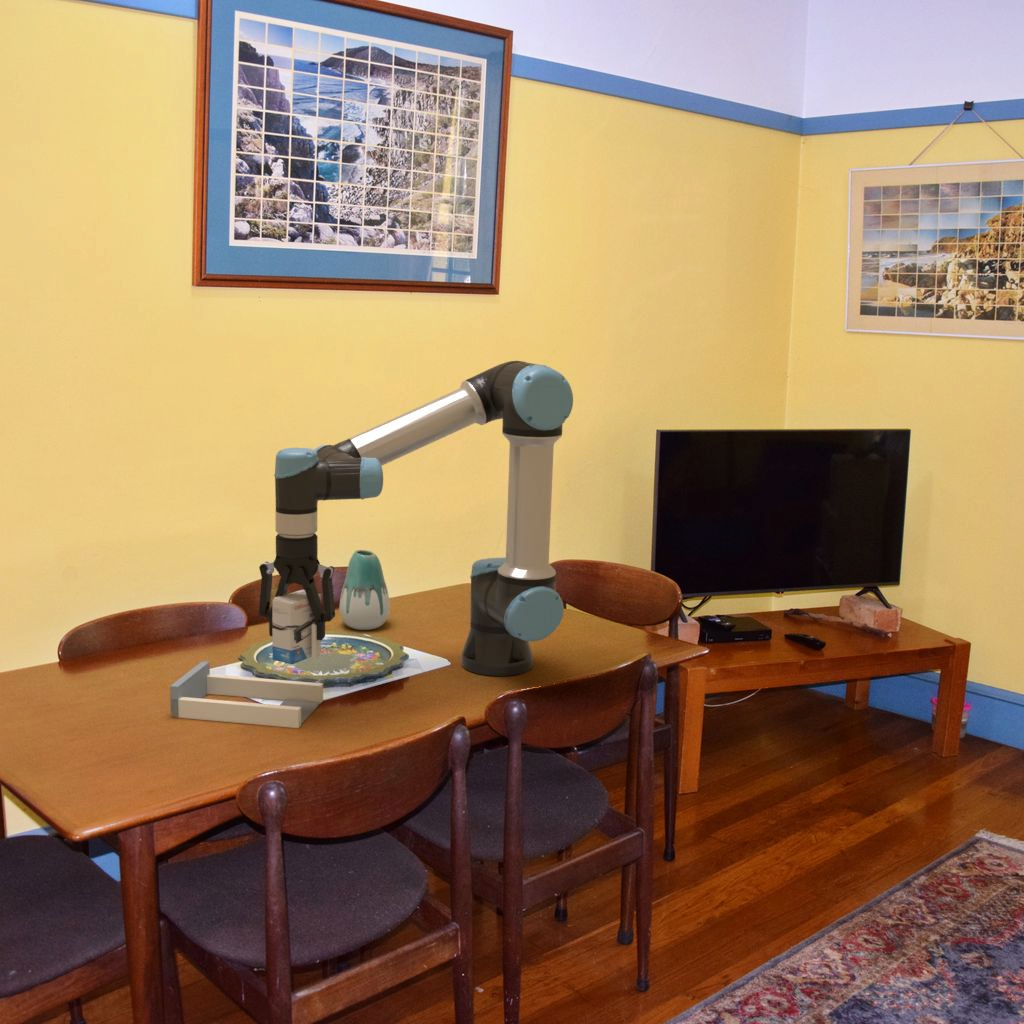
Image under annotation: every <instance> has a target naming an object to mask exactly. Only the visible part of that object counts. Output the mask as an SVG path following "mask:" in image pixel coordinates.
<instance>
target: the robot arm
mask: <svg viewBox="0 0 1024 1024" xmlns="http://www.w3.org/2000/svg"><path fill="white" fill-rule="evenodd" d="M573 406H574V394H573V390H572V386H571V384H570V382H569V381H568V379H567V378H566V377H565V376H564V375H563V374H562V373H560V372H559V371H558V370H556V369H554V368H552V367H550V366H548V365H546V364H537V363H532V362H526V361H522V360H510V361H506V362H504V363H503V362H502V363H500V364H497V365H495V366H493V367H491V368H489V369H486V370H485V371H482V372H480V373H478V374H476V375H473V376H472V377H469V378H468V379H465V380H463V381H461V384H460V386H459V388H457V389H455V390H453V391H450V392H449V393H447V394H445V395H444V394H443V395H442V396H440V397H438V398H436V399H433V400H430V401H429V402H426V403H424V404H422V405H420V406H418V407H416V408H413V409H412V410H409V411H407V412H404V413H402V414H400V415H398V416H396V417H394V418H391V419H389V420H387V421H385V422H383V423H381V424H378V425H376V426H373V427H371V428H370V429H367V430H364V431H362V432H361V433H358V434H356V435H354V436H351V437H350V438H347V439H345V440H342V441H340V442H338V443H336V444H323V445H320V446H317V447H316V448H314V449H313V448H309V447H286V448H283V449H280V450H278V451H277V453H276V455H275V462H274V463H275V465H274V474H273V477H274V486H275V489H274V490H275V495H274V496H275V532H276V533H277V534H276V536H275V559H274V560H273V561H270V562H269V561H265V562H263V563H261V564H260V565H259V573H260V576H261V580H260V581H261V583H260V593H259V603H258V604H259V606H258V615H259V616H260V617H264V618H266V619H268V628H269V629H268V635H269V637H272V628H273V626H272V625H273V624H272V623H273V622H272V608H273V604H272V603H271V601H272V600H271V597H272V588H273V587H272V586H273V585H272V584H273V573H274V572H275V570H276V572H277V573H278V574H279V576H280V578H279V581H278V586H277V587H278V588H277V590H276V593H275V596H274V598H275V597H278V596H283V595H285V594H288V593H287V592H288V589H289V586H290V585H292V584H296V585H301V586H302V590H305V592H306V595H307V598H308V601H309V604H310V606H311V609H312V612H313V615H314V618H315V622H314V623H313V624H312V657H311V659H315V660H316V659H317V658H318V657H319V656H320V655H321V653H320V640H321V641H323V640H324V639H325V637H326V623H327V622H331V621H332V620H333V619H334V618H335V617H336V608H335V607H336V606H335V599H334V597H335V596H334V585H333V577H334V573H335V567H334V566H332V565H330V566H326V565H323V564H321V563H320V561H319V559H318V551H319V550H318V545H319V544H318V541H319V540H318V535H317V534H316V532H318V502H319V501H333V500H335V501H337V500H340V501H341V500H364V499H365V500H367V499H372V498H377V497H379V496H381V494H382V491H383V487H384V471H383V468H382V467H383V466H384V465H387V464H389V463H391V462H393V461H395V460H397V459H400V458H402V457H404V456H406V455H408V454H410V453H413V452H414V451H417V450H419V449H421V448H424V447H426V446H428V445H430V444H432V443H435V442H437V441H439V440H441V439H443V438H446V437H447V436H449V435H452V434H454V433H456V432H458V431H461V430H463V429H465V428H467V427H470V426H471V425H474V424H478V425H481V426H483V425H486V424H489V423H490V422H495V421H497V420H502V428H501V429H502V432H501V433H502V435H503V436H504V438H506V440H507V441H508V442H509V457H508V484H507V485H508V486H507V487H508V488H507V512H506V513H507V514H506V515H507V516H506V518H507V519H506V543H505V545H506V546H505V557H489V558H482V559H479V560H475V562H473V564H472V566H471V573H470V576H469V577H470V623H469V624H470V626H469V627H470V629H469V632H468V634H467V638H466V641H465V643H464V647H463V649H462V652H461V666H462V668H464V669H465V670H466V671H469V672H470V673H471V672H472V673H474V674H478V675H484V676H493V677H497V676H498V677H504V676H516V675H519V674H524V673H525V672H528V671H529V670H531V669H532V667H533V661H534V659H533V657H534V656H533V652H532V649H531V645H530V642H537V641H542V640H544V639H546V638H548V637H549V636H551V635H552V634H553V633H554V632H555V631H557V629H558V628H559V626H560V624H561V622H562V620H563V616H564V611H565V609H564V602H563V599H562V598H561V596H560V593H558V592H557V591H556V586H557V585H556V584H557V583H556V580H557V572H556V570H555V568H554V567H553V566H552V565H551V564H550V545H551V544H550V542H551V541H550V540H551V522H552V521H551V520H552V519H551V518H552V517H551V515H552V494H553V493H552V492H553V474H554V473H553V472H554V471H553V468H554V450H555V449H554V447H555V443H557V441H558V440H560V439H561V438H562V436H563V424H564V423H565V422H566V420H567V418H569V417H570V415H571V413H572V409H573ZM317 572H318V573H319V576H320V578H321V590H322V600H323V604H322V600H321V601H320V598H319V595H318V594H319V592H318V589H317V587H316V580H315V578H314V576H315V575H316V574H317ZM271 604H272V605H271Z"/></svg>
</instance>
